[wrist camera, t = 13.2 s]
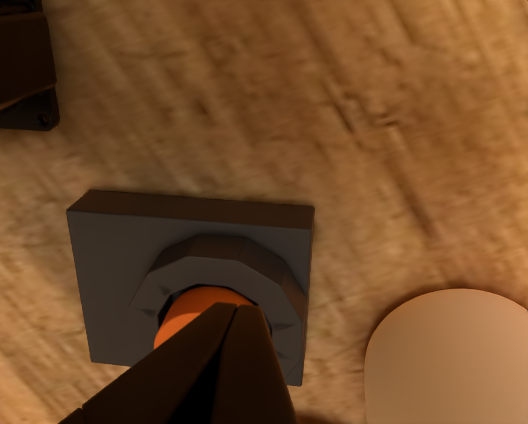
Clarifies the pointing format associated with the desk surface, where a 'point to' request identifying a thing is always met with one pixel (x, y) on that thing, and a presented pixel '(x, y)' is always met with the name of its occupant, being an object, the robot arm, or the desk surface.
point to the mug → (449, 361)
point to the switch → (194, 308)
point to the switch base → (188, 267)
